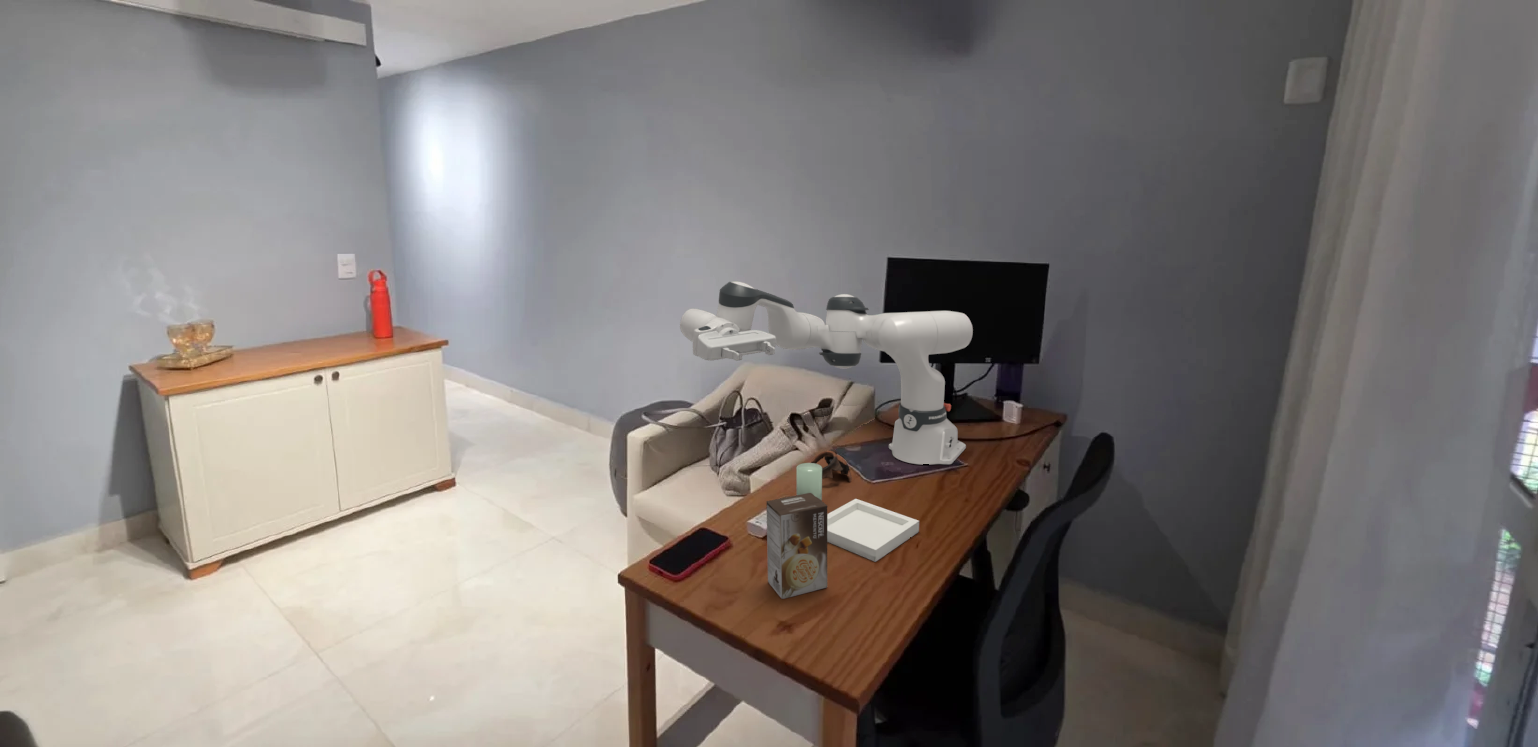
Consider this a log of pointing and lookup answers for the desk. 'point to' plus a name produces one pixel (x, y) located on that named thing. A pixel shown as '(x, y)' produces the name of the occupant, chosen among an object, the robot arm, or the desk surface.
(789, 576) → the coffee box
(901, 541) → the tray
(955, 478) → the desk surface
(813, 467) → the green cylinder
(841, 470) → the pottery mug
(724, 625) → the desk surface
